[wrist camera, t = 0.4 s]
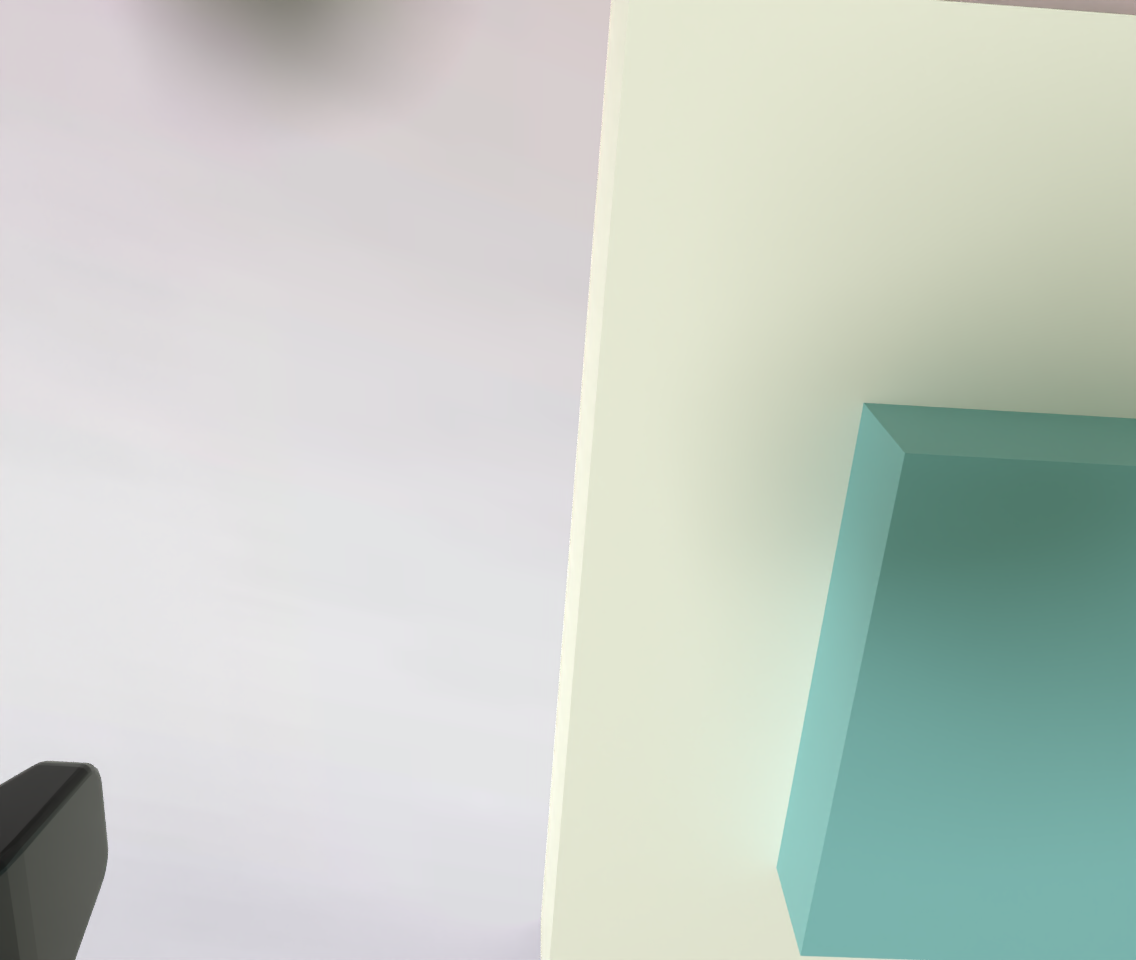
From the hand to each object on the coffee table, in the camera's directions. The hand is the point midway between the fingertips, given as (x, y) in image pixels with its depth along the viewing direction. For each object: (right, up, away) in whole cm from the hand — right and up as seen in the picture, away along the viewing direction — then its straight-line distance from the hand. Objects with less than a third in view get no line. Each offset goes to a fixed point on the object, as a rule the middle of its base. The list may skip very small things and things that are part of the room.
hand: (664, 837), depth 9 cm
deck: (+5, +1, +13) cm, 14 cm away
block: (+6, 0, +9) cm, 11 cm away
